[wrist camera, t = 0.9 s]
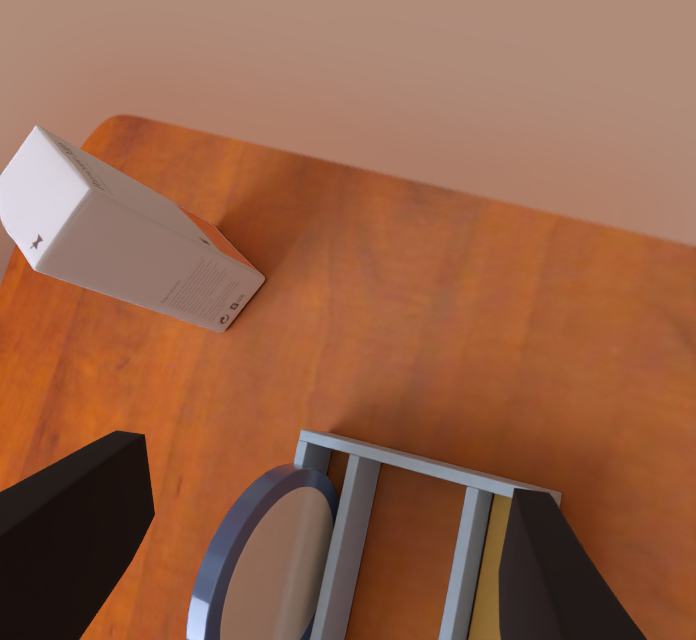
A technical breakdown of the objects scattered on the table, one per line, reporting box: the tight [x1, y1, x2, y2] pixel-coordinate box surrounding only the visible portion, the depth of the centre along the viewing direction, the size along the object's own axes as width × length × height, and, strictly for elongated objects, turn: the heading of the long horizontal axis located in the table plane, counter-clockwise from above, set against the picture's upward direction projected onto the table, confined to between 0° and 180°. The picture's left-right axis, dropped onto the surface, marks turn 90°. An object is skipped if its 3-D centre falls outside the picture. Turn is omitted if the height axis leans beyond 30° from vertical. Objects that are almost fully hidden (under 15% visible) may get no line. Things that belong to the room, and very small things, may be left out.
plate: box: [186, 463, 339, 640], centre depth 23 cm, size 9×1×9 cm, turn 168°
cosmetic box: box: [0, 125, 265, 333], centre depth 29 cm, size 6×4×12 cm
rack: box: [294, 429, 562, 640], centre depth 24 cm, size 12×11×2 cm
